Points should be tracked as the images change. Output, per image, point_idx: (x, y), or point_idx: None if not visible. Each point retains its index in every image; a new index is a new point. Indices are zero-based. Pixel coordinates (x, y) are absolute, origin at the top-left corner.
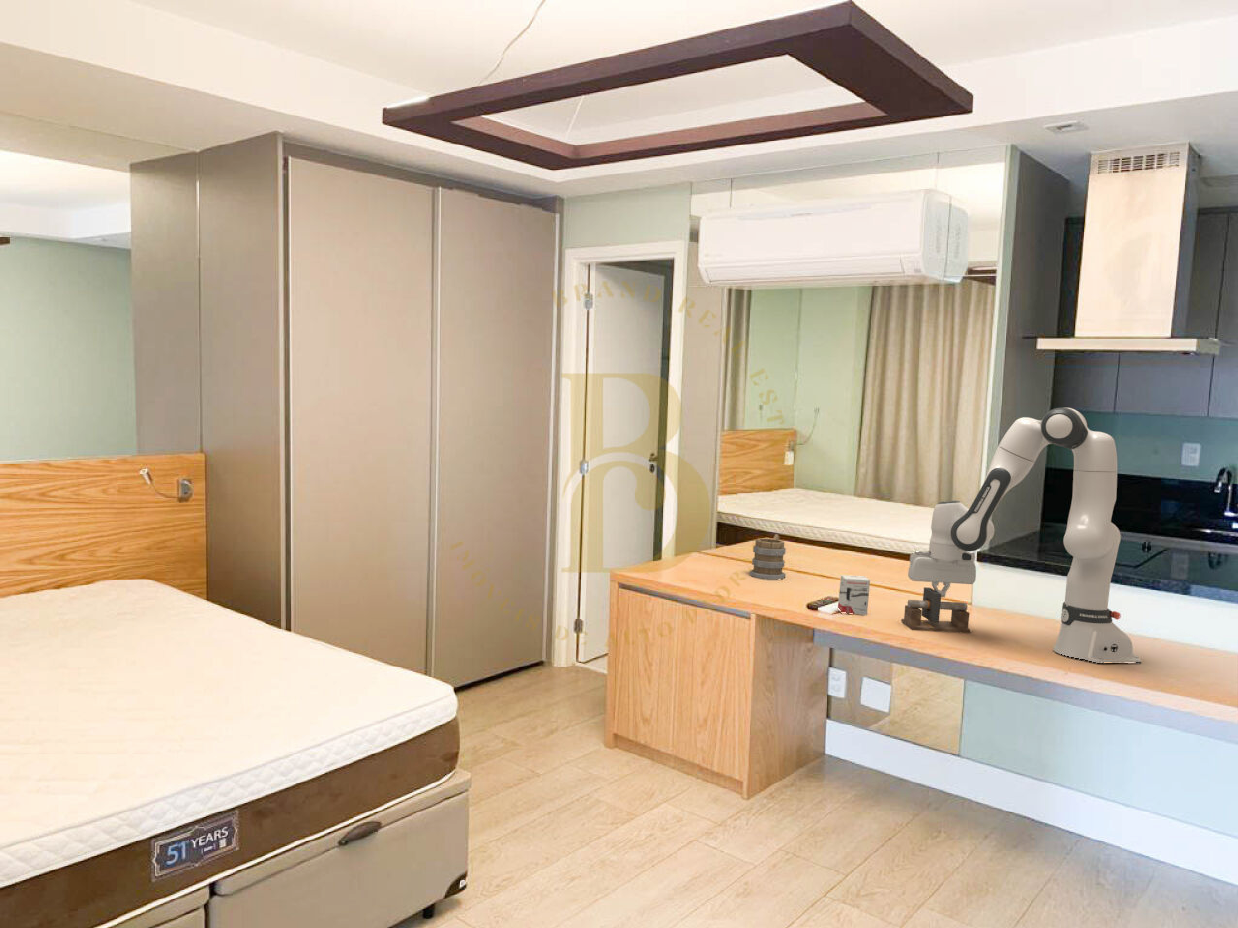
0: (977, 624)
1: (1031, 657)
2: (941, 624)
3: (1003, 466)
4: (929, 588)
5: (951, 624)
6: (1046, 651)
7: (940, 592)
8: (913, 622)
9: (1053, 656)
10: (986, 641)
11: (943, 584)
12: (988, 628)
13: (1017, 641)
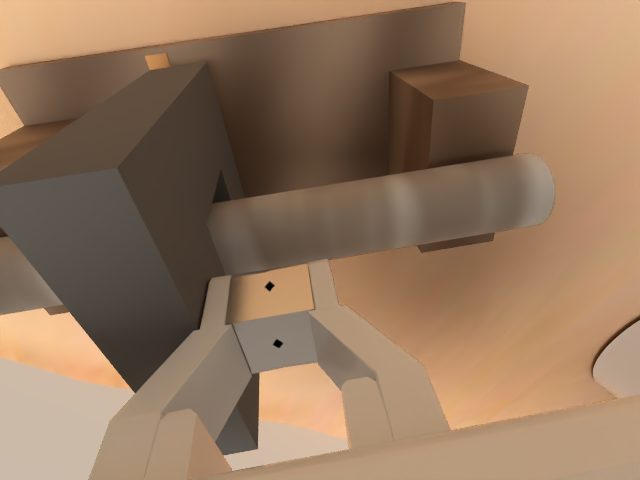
0: None
1: (478, 405)
2: (300, 154)
3: None
4: (109, 253)
5: (373, 127)
6: (580, 347)
7: (274, 356)
8: None
9: (556, 380)
10: (433, 313)
11: (343, 400)
12: (631, 49)
13: (575, 272)
